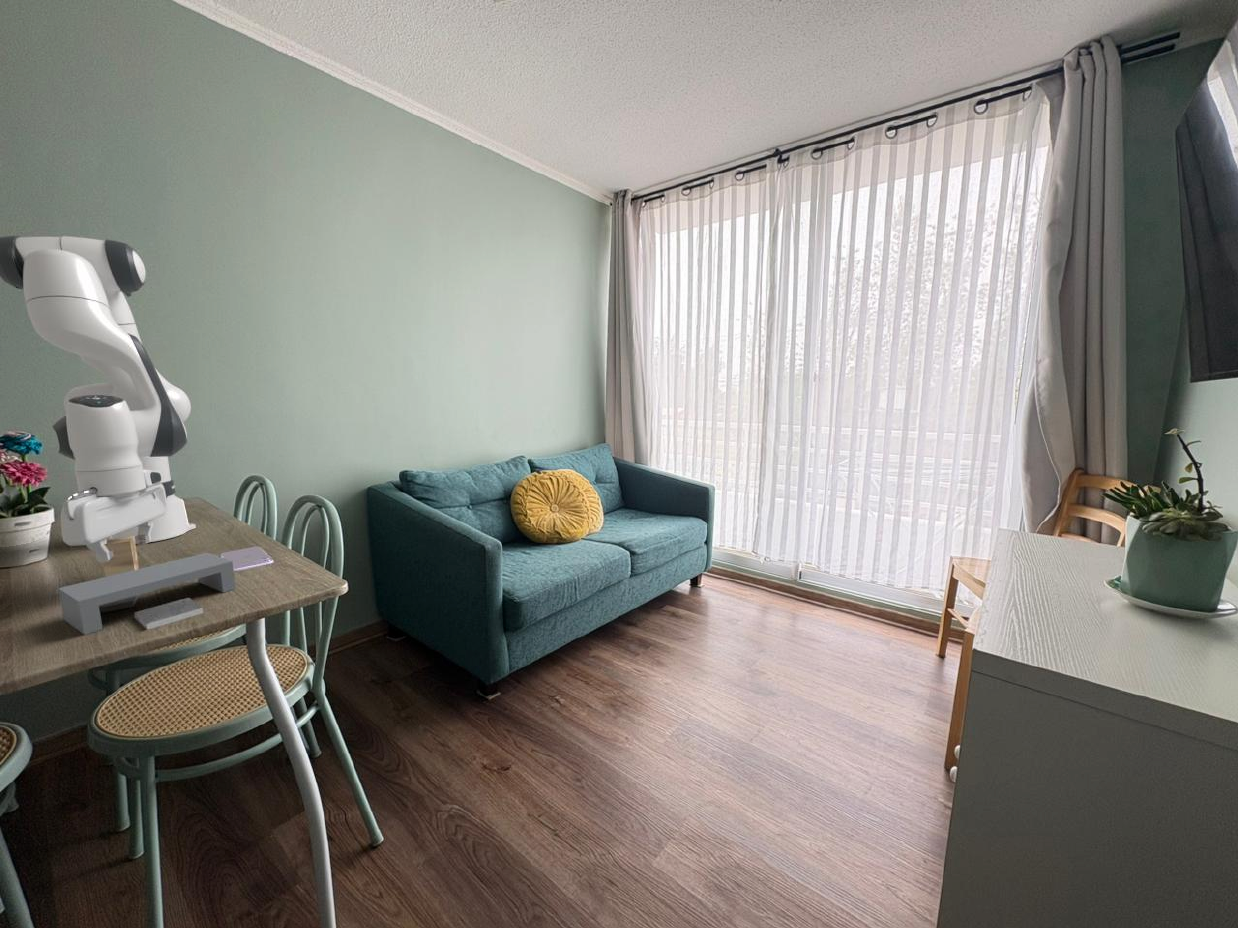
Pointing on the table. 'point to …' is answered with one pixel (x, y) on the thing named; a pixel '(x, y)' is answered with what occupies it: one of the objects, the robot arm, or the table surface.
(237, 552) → the mobile phone
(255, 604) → the table surface
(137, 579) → the low shelf
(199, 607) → the flat gray rectangular block
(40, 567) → the table surface
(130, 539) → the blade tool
